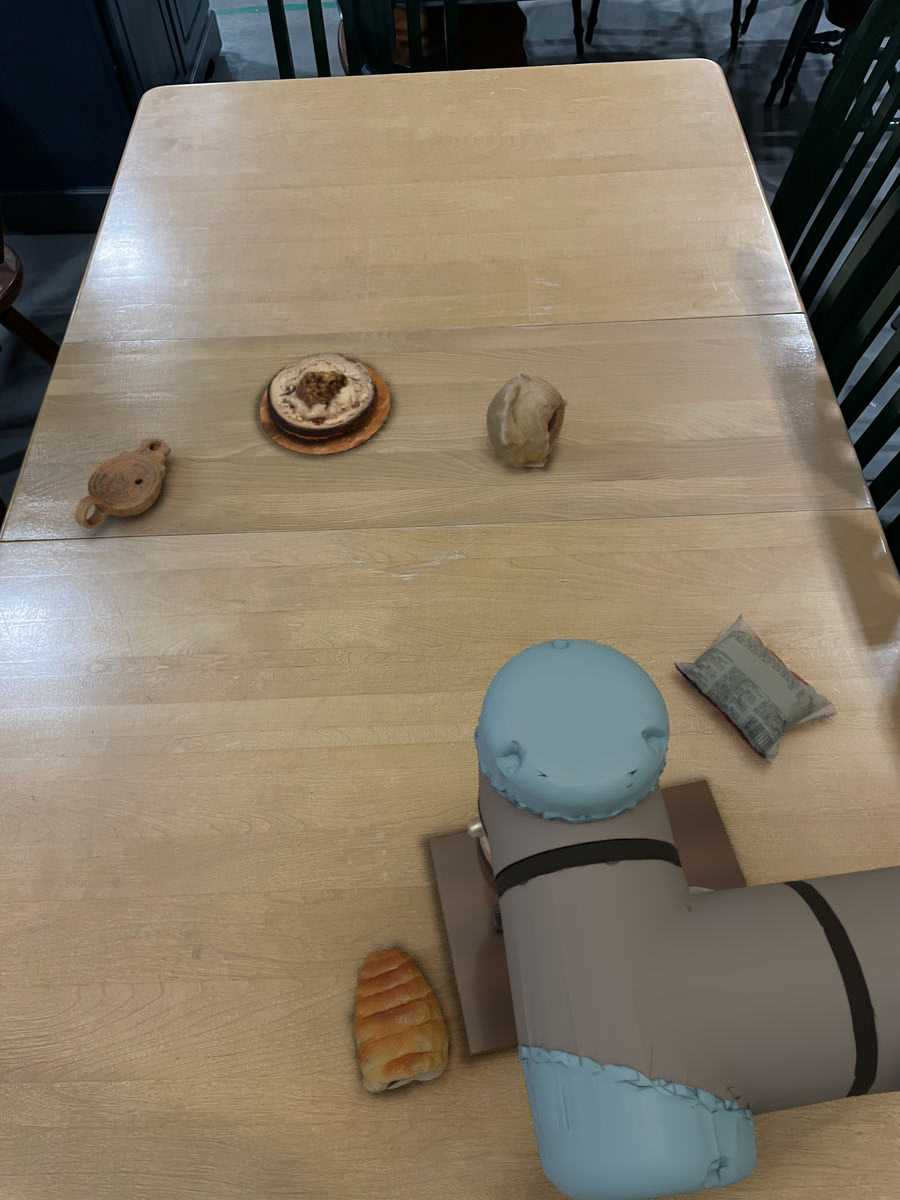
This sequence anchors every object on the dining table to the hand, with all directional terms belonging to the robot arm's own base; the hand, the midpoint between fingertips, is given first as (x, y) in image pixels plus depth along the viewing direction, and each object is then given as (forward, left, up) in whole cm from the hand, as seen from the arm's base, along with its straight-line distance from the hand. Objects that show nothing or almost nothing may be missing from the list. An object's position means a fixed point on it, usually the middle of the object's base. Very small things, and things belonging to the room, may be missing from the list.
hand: (525, 915), depth 64 cm
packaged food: (+15, -25, -4) cm, 29 cm away
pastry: (-5, +11, -4) cm, 13 cm away
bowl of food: (+60, +8, -4) cm, 61 cm away
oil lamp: (+51, +30, -4) cm, 59 cm away
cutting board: (0, -6, -4) cm, 7 cm away
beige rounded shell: (+49, -13, -4) cm, 51 cm away
